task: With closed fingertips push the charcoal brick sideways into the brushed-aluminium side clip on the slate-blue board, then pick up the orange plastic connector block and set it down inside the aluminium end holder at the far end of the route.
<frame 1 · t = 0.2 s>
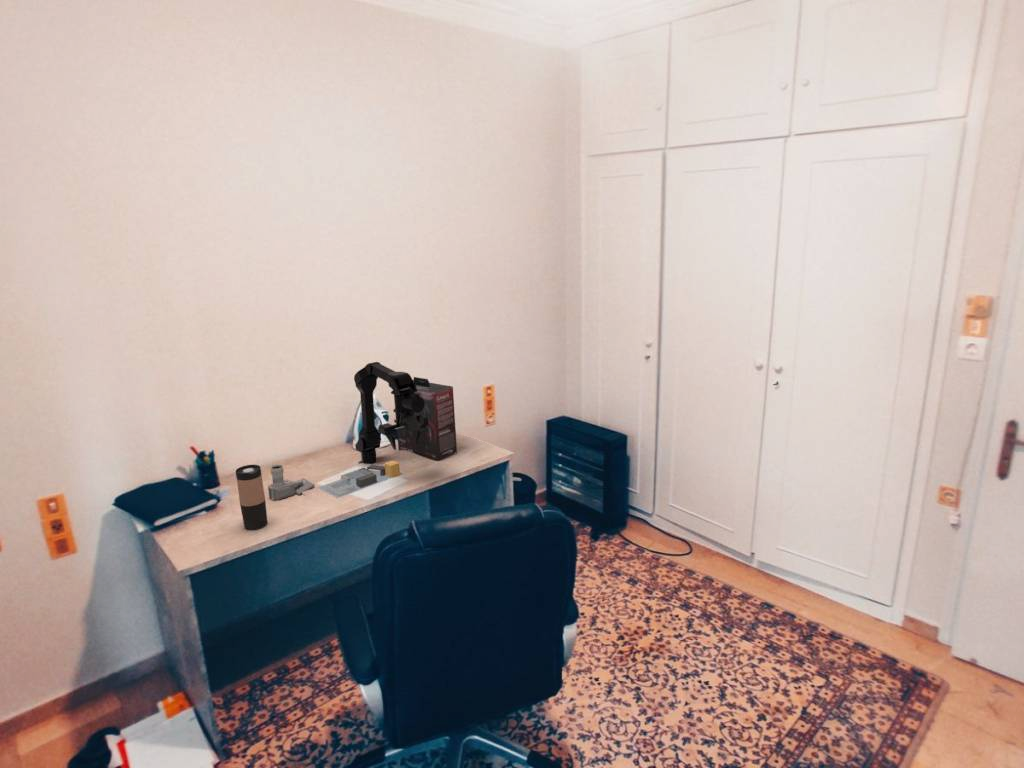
hand: (405, 446, 232), 14 cm above the table, fingers open, 9 cm apart
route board: (361, 482, 236), on the table
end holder: (342, 492, 228), resting on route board
travel mug: (256, 525, 204), on the table
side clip: (356, 481, 237), resting on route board
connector: (392, 475, 240), point 1 cm above the table, touching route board
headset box: (427, 452, 266), on the table
grey angular model part: (291, 493, 228), on the table
charcoal brick: (366, 483, 232), point 1 cm above the table, touching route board
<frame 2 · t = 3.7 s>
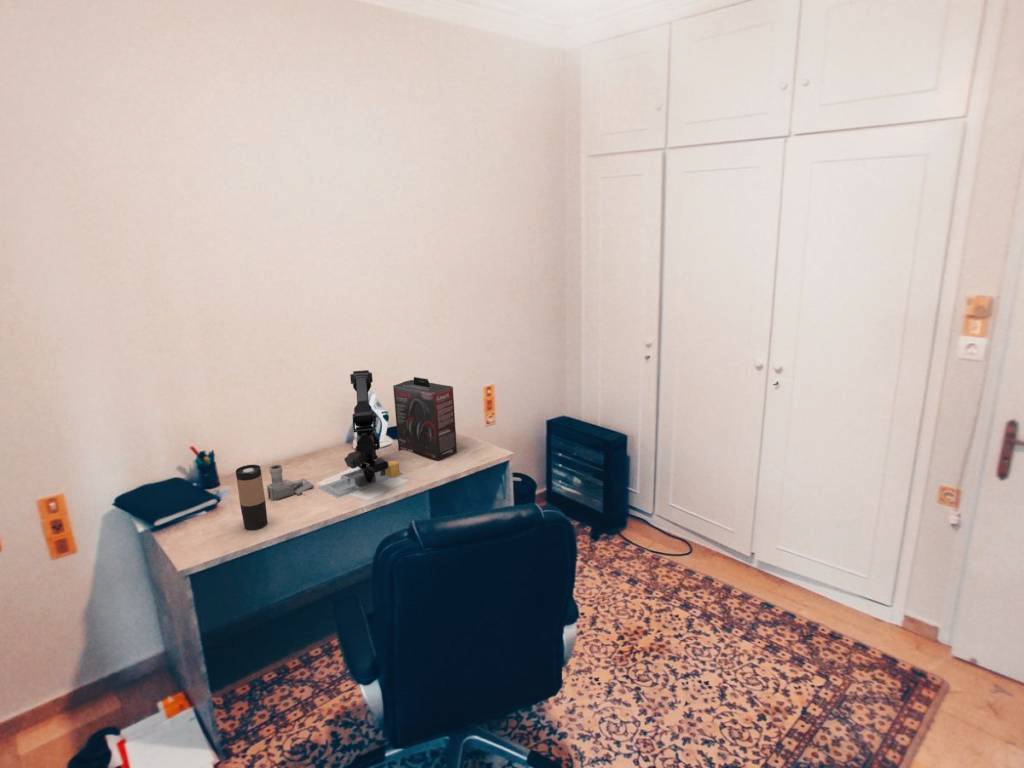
hand: (369, 482, 230), 2 cm above the table, fingers closed
charcoal brick: (365, 483, 233), point 1 cm above the table, touching gripper
everything else where it was.
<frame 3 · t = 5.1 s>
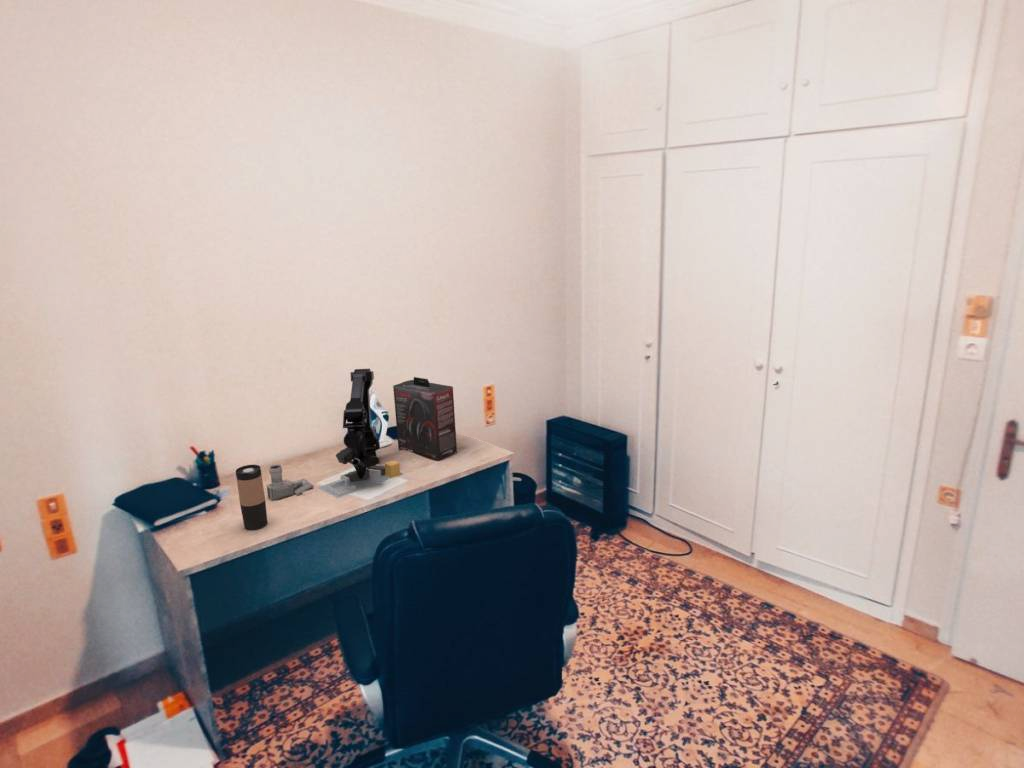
hand: (361, 478, 234), 2 cm above the table, fingers closed
charcoal brick: (359, 479, 236), point 1 cm above the table, touching gripper, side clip
everything else where it was.
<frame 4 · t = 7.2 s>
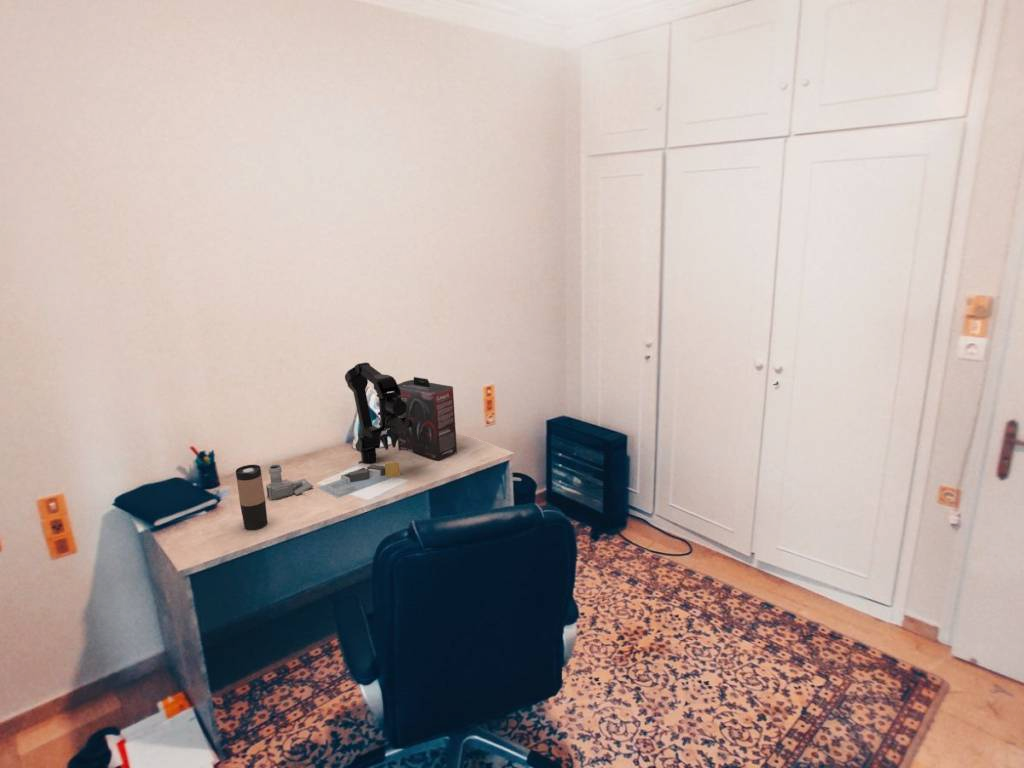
hand: (390, 448, 237), 12 cm above the table, fingers open, 3 cm apart
charcoal brick: (359, 479, 236), point 1 cm above the table, touching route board
everything else where it was.
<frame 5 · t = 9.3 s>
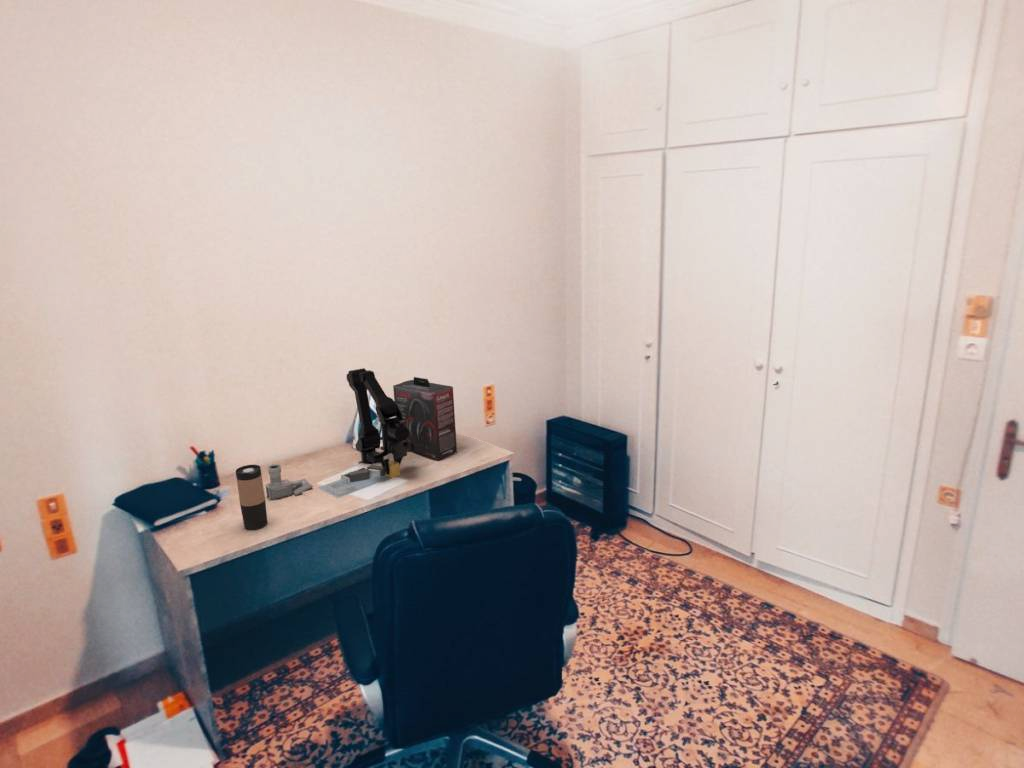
hand: (392, 472, 239), 2 cm above the table, fingers closed on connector, 4 cm apart
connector: (392, 475, 240), point 1 cm above the table, touching gripper, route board
everything else where it was.
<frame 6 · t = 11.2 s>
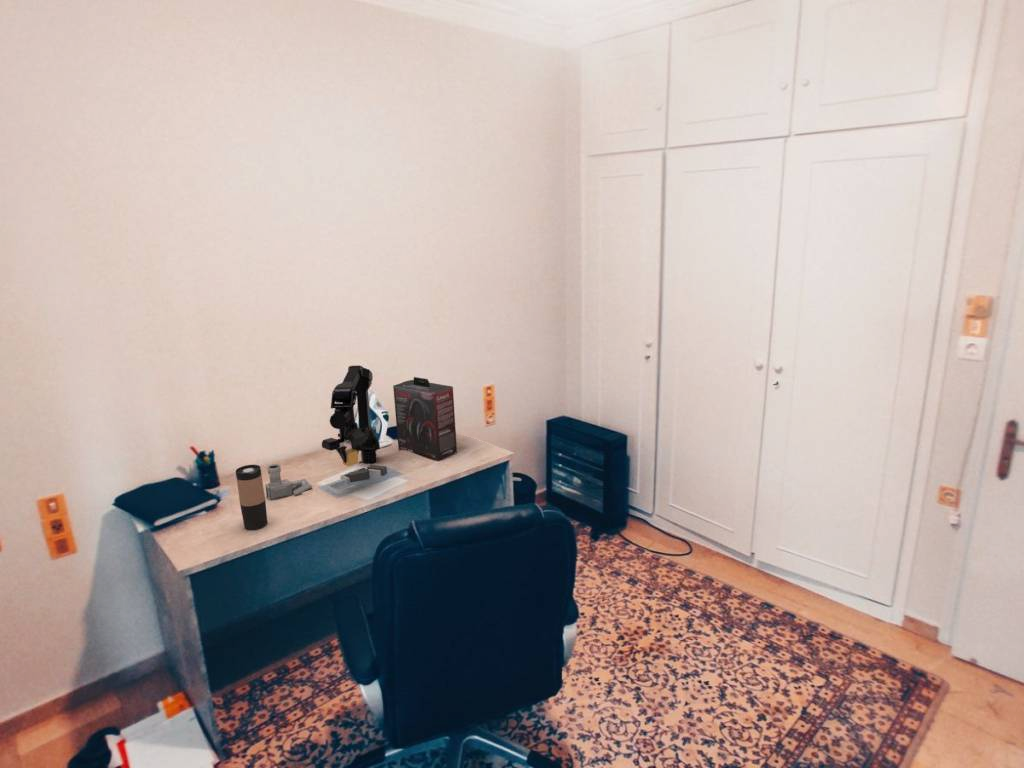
hand: (350, 461, 227), 11 cm above the table, fingers closed on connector, 4 cm apart
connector: (350, 463, 227), point 10 cm above the table, touching gripper
everything else where it was.
when the fingers open (4 cm above the table, at t = 13.1 s): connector drops 2 cm, resting on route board.
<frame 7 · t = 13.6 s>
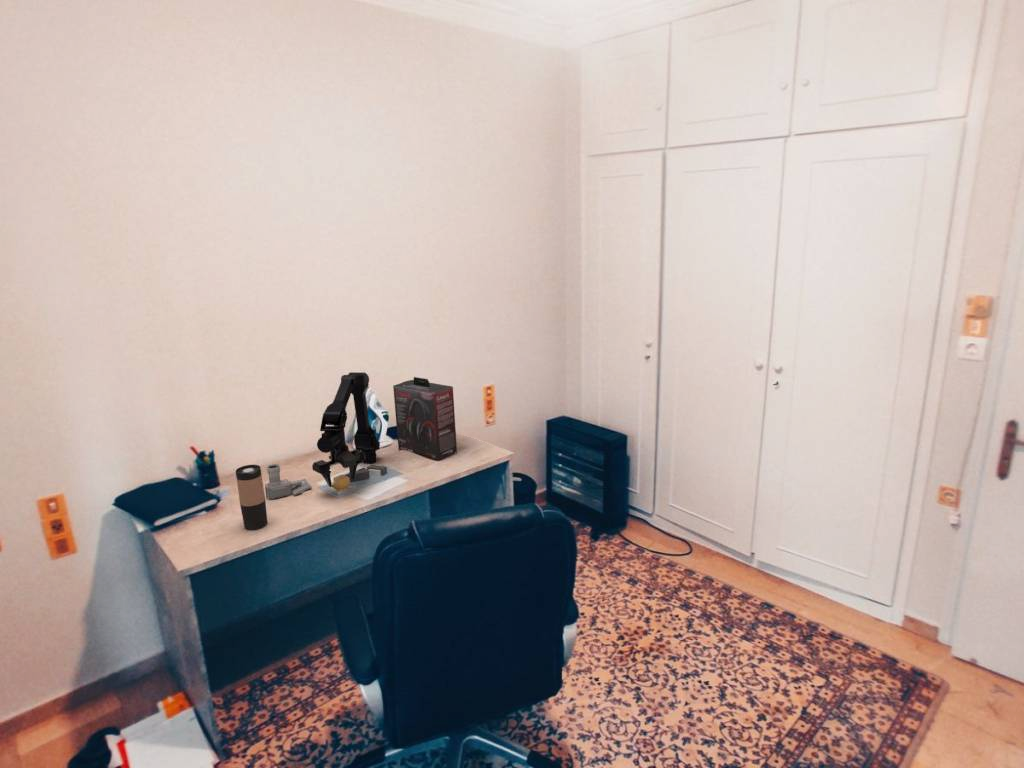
hand: (341, 482, 227), 4 cm above the table, fingers open, 9 cm apart
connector: (342, 489, 227), point 1 cm above the table, touching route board
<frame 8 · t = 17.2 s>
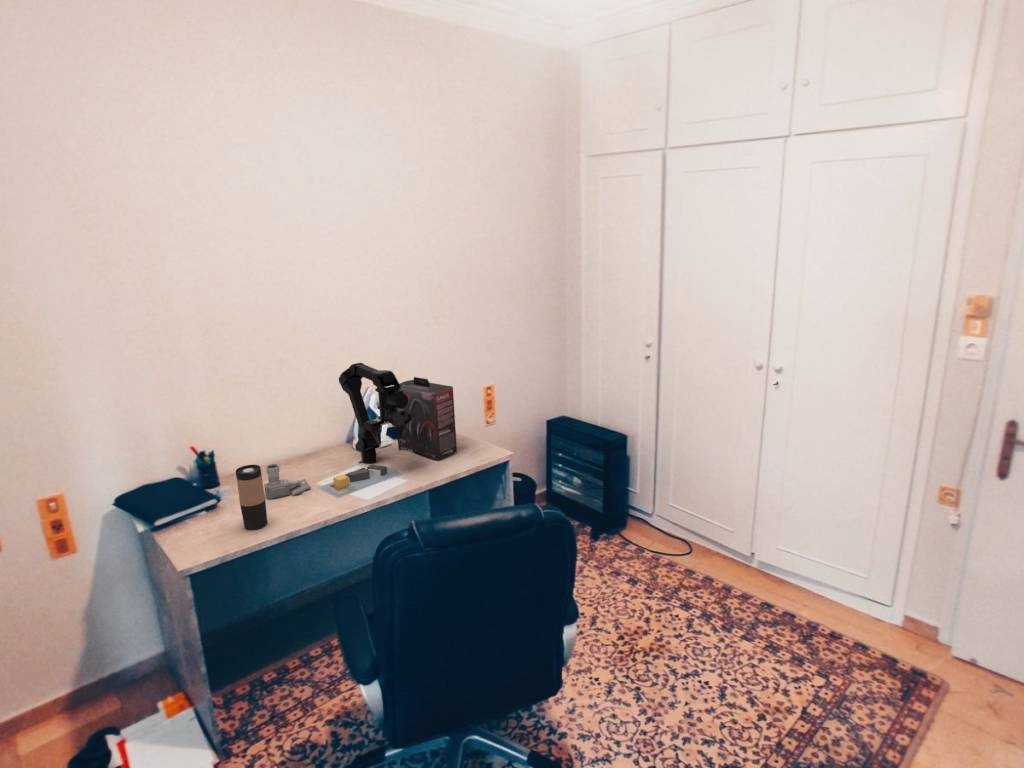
hand: (389, 442, 241), 13 cm above the table, fingers open, 9 cm apart
at the end: charcoal brick 0.8 cm off-centre on the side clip, point 1.0 cm above the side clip's base; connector 0.1 cm off-centre on the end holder, point 1.0 cm above the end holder's base; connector tilted 0° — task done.
